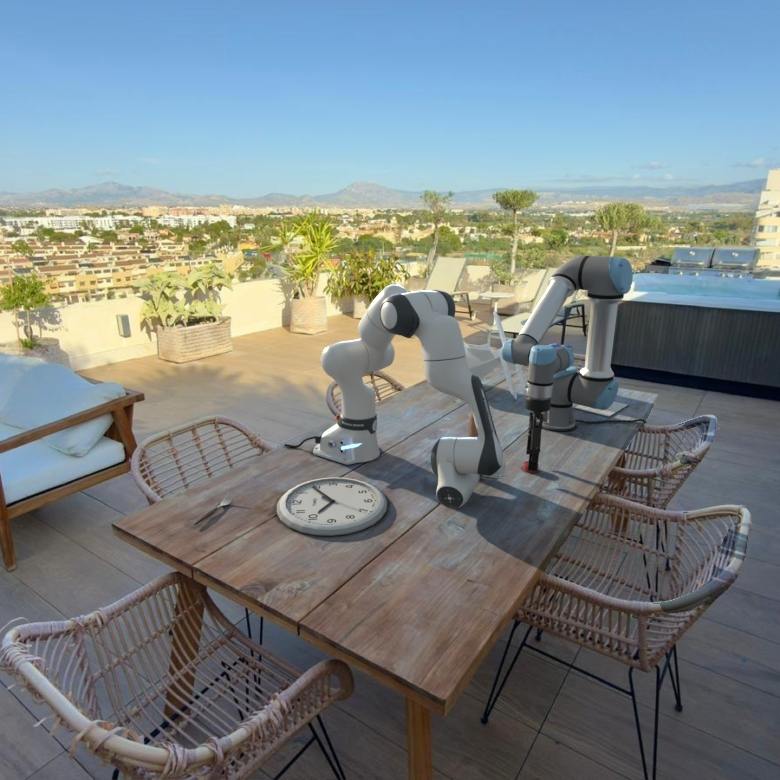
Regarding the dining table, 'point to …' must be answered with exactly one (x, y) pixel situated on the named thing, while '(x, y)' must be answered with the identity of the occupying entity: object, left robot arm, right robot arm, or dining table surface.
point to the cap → (527, 467)
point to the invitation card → (608, 412)
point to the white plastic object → (491, 360)
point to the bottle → (472, 427)
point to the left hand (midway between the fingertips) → (475, 454)
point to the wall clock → (331, 506)
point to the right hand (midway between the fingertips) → (531, 462)
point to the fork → (223, 503)
